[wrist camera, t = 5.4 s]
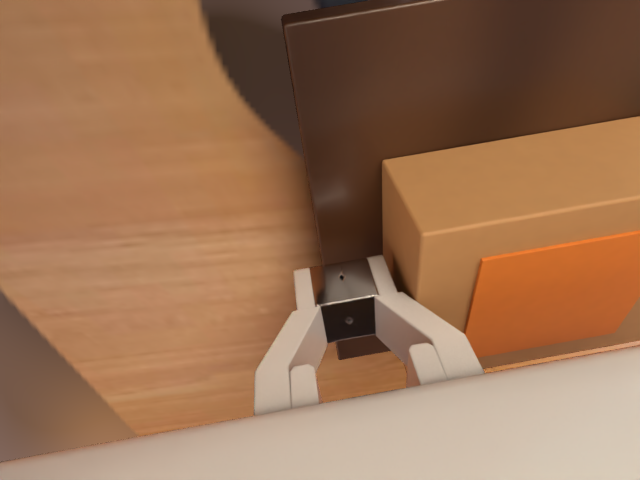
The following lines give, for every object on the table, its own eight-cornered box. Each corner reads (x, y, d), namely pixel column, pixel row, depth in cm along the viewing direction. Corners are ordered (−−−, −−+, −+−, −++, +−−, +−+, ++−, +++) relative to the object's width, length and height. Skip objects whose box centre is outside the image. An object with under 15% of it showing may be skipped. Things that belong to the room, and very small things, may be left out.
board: (1056, -115, 9) (1143, -120, 8) (726, 269, 18) (750, 287, 18) (280, 14, 9) (282, 24, 8) (334, 339, 18) (338, 361, 17)
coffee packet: (649, 112, 11) (782, 175, 8) (575, 268, 15) (645, 343, 12) (381, 159, 11) (422, 238, 8) (382, 302, 15) (410, 386, 12)
